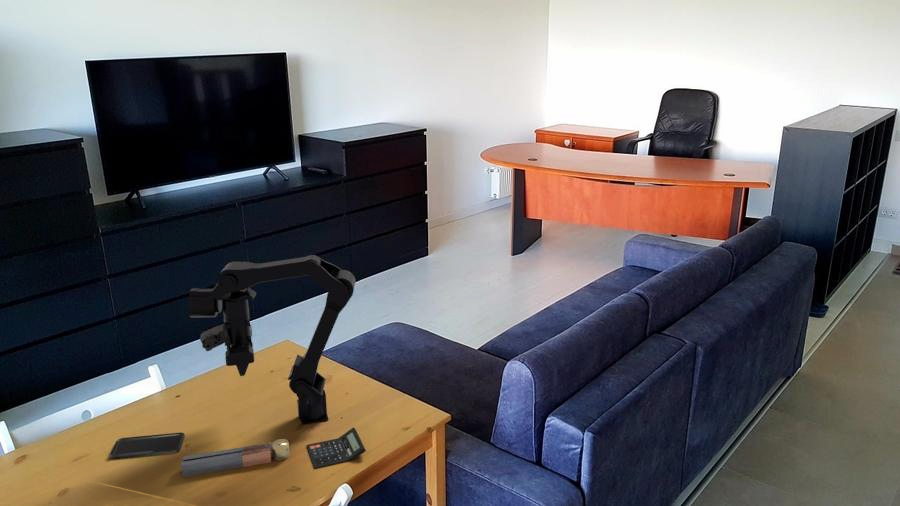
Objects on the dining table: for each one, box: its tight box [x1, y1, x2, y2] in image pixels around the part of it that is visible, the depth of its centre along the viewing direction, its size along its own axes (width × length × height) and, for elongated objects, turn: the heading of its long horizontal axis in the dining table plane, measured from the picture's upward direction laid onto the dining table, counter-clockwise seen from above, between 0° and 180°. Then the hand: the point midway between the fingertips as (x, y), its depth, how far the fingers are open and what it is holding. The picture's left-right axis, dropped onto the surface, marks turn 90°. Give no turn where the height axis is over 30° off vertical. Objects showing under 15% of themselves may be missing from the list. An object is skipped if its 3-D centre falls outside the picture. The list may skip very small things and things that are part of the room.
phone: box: [109, 432, 185, 460], centre depth 154 cm, size 8×1×15 cm
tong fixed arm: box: [180, 447, 272, 478], centre depth 146 cm, size 18×2×3 cm, turn 108°
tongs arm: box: [182, 438, 291, 462], centre depth 148 cm, size 22×4×3 cm, turn 107°
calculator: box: [306, 426, 367, 470], centre depth 152 cm, size 9×12×3 cm
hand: (242, 375), depth 163 cm, fingers closed
